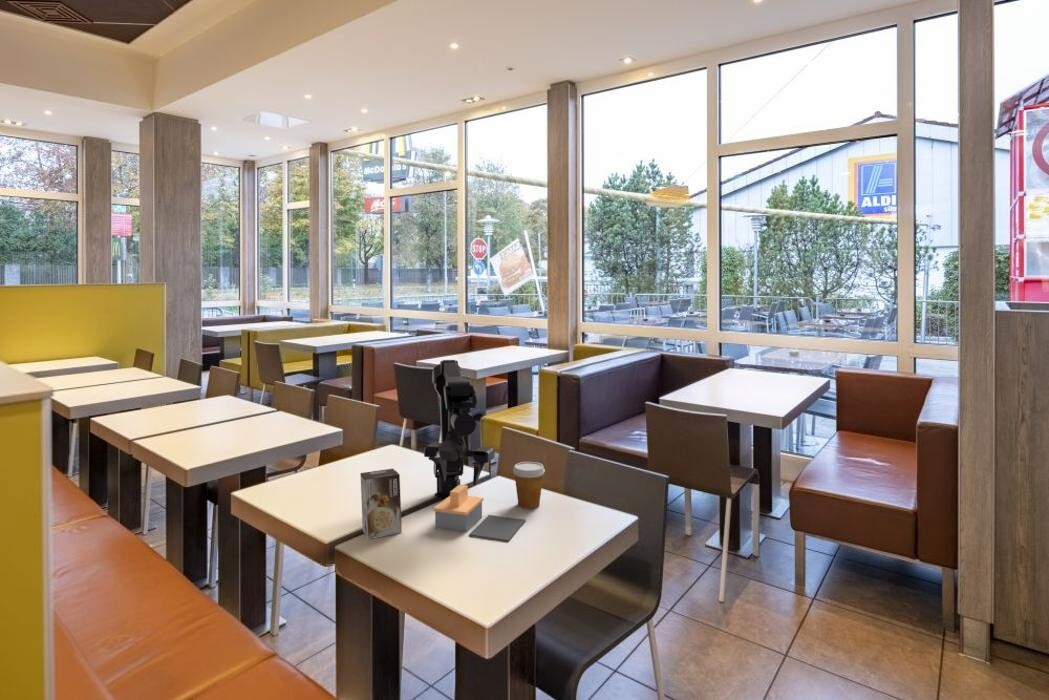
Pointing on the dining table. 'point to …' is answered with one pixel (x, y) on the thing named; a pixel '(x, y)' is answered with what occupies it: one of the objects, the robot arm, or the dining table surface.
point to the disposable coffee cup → (528, 483)
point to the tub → (458, 520)
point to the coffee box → (381, 503)
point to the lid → (459, 502)
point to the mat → (498, 528)
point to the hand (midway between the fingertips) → (459, 482)
